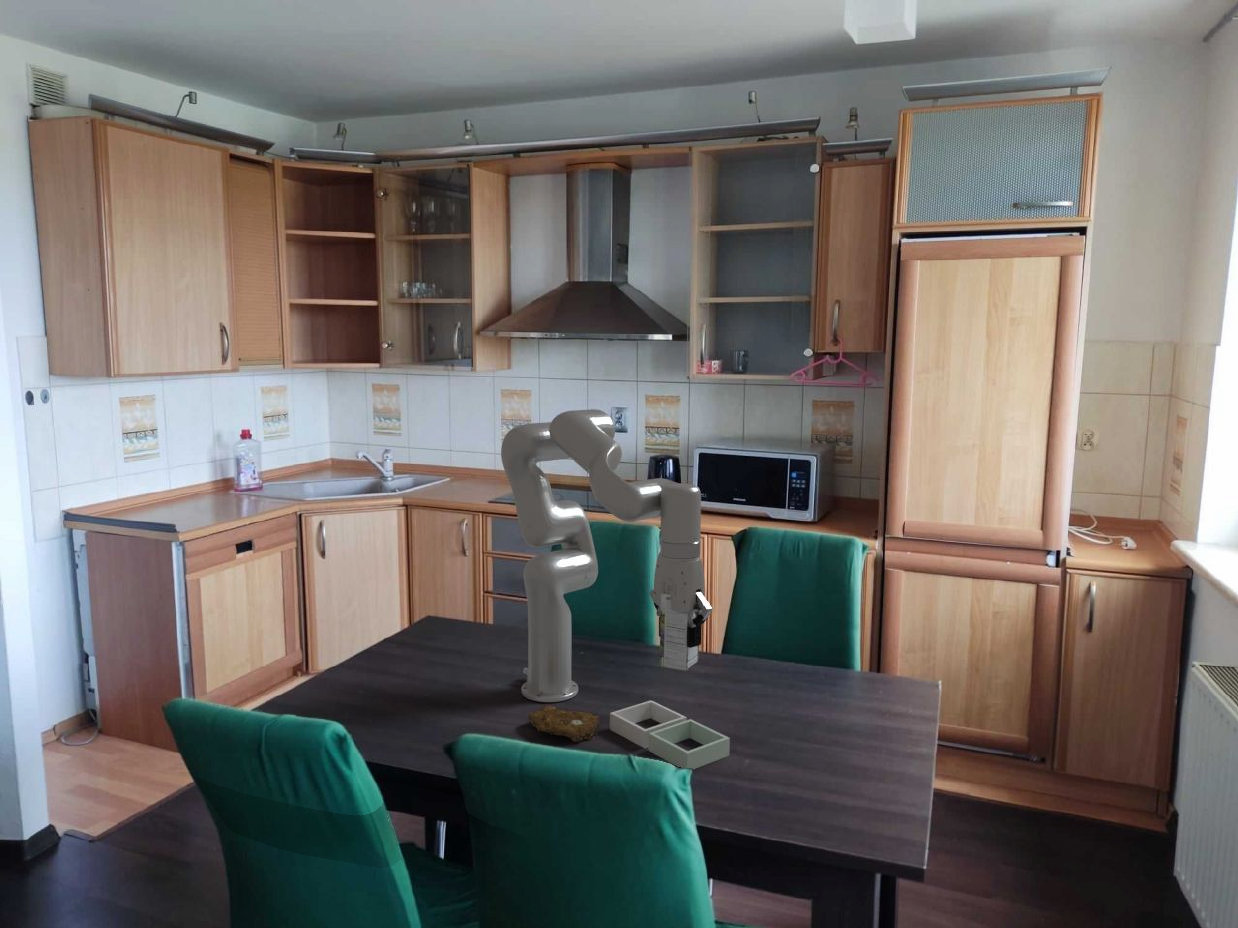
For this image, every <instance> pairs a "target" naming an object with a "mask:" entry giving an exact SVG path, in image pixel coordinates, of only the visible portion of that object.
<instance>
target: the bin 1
mask: <svg viewBox="0 0 1238 928" xmlns="http://www.w3.org/2000/svg"><path fill="white" fill-rule="evenodd" d="M649 719H651V720H653V721H655V722H658V723H659V724H657V725H654V726H651V727H648V728H644V727H642V726H640V725H639V724H637V723H640V722H643V721H646V720H649ZM686 720H688V718H687V716H685V715H684V714H683V715H682V714H681V713H679V712H677V711H674V710H673V709H670V708H668V707H666V706H664V705H662V704H660V703H658V702H656V701H653V700H652V699H651V700H647V701H644V702H642V703H638V704H634V705H632V706H628V707H624V708H622V709H619V710H616V711H612V712H610V713H609V730H610V731H611V732H613V733H615V734H618V735H619V736H621V737H623V738H625V739H627V740H628V741H629V742H632V743H634V744H635V745H637V746H640V747H641V748H643V749H647V748H649V733H651V732H654V731H657V730H660V729H663V728H666V727H669V726H672V725H675V724H678V723H681V722H684V721H686Z"/></svg>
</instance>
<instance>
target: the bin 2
mask: <svg viewBox="0 0 1238 928" xmlns="http://www.w3.org/2000/svg"><path fill="white" fill-rule="evenodd" d="M689 739H692V740H693V741H695V742H698V743H699V744H701V746H698V747H696V748H693V749H690V750H686V749H684V748H682V747H680V746H678V743H680V742H682V741H683V742H684V741H686V740H689ZM730 744H731V738H730V737H728V736H727V735H725V734H723V733H720V732H718V731H716V730H714V729H712V728H710V727H708V726H706V725H703V724H702V723H699V722H697V721H695V720H693V719H692V718H690V719H687V720H686V721H684V722H681V723H678V724H675V725H672V726H669V727H666V728H663V729H660V730H657V731H654V732H651V733H649V747H648V752H650V753H652V754H653V755H655V756H658V757H659V758H661V759H663V760H665V761H666V762H668V763H670V764H672V765H674V766H676V767H678V768H679V767H681V768H692V769H693V770H696V769H698V768H701V767H703V766H706V765H708V764H712V763H714V762H716V761H719V760H721V759H725V758H727V757H729V756H730V748H731V745H730ZM681 768H680V769H681Z"/></svg>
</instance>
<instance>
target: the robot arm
mask: <svg viewBox="0 0 1238 928" xmlns="http://www.w3.org/2000/svg"><path fill="white" fill-rule="evenodd" d="M615 427H616V426H615V423H614V421H613V419H612V418H611V417H610V416H609V414H608V413H607V412H605V411H603V410H601V409H598V408H597V409H595V408H594V409H592V408H591V409H579V410H578V409H577V410H576V409H575V410H574V409H573V410H567V411H563V412H561V413H559V414H557V415H556V416H555V417H554V418H553V419H552V421H551V422H550V421H549V422H533V423H525V424H520V425H517V426H515V427H513V428H511V429H509V431H508V432H506V434H505V436H504V437H503V440H502V443H501V447H500V448H501V449H500V458H501V463H502V464H501V465H502V466H503V469H504V473H505V475H506V477H507V479H508V483H509V484H510V487H511V492H512V496H513V500H514V501H513V502H514V505H515V510H516V515H517V520H518V524H519V529H520V532H521V536H522V538H523V541H524V543H525V544H526V545H527V546H528V547H531V548H545V547H550V546H555V545H561V549H560V550H559V549H558V550H553V551H548V552H544V553H540V554H538V555H537V554H536V555H535V556H533V557H531V558H529V560H528V561H527V563H526V564H525V566H524V568H523V573H522V574H523V575H522V576H523V582H524V589H525V593H526V601H527V625H528V630H527V631H528V632H527V633H528V637H527V638H528V641H527V643H528V644H527V646H528V648H527V649H528V653H527V655H528V656H527V657H528V658H527V659H528V662H527V663H528V666H527V667H524V668H523V670H522V672H523V674H525V675H527V678H526V682H524V683H523V684H522V686H521V687H520V688H521V694H522V696H523V697H525V698H526V699H528V700H531V701H533V702H534V701H535V702H539V703H558V702H563V701H568V700H569V699H572V698H574V697H575V696H576V695H577V694H578V693H579V685H578V683H576V682H575V681H574V680H572V612H571V609H570V607H569V605H568V603H567V602H566V600H565V598H564V595H565V594H569V593H572V592H576V591H580V590H583V589H586V588H587V589H588V588H589V587H592V585H594V583H595V582H596V580H597V579H598V578H597V577H598V574H599V564H598V563H599V562H598V558H597V553H596V549H595V544H594V540H593V536H592V530H591V527H590V522H589V518H588V515H587V513H586V512H585V510H584V508H583V507H582V506H581V505H580V504H579V503H578V502H576V501H574V500H568V499H564V500H558V501H556V500H555V499H554V496H553V495H554V494H553V491H552V487H551V483H550V480H549V479H548V477H547V475H546V474H545V472H544V471H543V470H542V469H541V468H540V467H539V466H537V464H538V463H540V462H551V461H559V460H567V459H571V460H573V462H575V463H576V464H577V465H579V466H580V467H581V468H582V469H583V470H584V471H585V472H586V473H587V474H588V475H589V476H588V481H589V486H590V489H591V492H592V494H593V496H594V498H595V500H596V502H598V503H599V505H601V506H602V507H603V508H604V509H605V510H606V511H607V512H609V513H610V514H611V515H613V516H614V517H615V518H617V519H619V520H620V521H623V522H627V523H634V522H640V521H644V520H649V519H650V520H651V519H658V518H660V541H659V546H660V552H659V554H658V555H657V559H656V563H655V568H654V577H653V588H652V589H651V590H650V592H649V595H650V597H651V600H652V602H653V606H654V608H655V610H656V616H658V637H659V638H660V619H661V594H662V593H669V594H671V596H670V598H671V599H670V601H671V610H673V611H675V612H678V613H682V614H687V613H688V622H689V625H690V626H688V627H687V647H689V648H692V647H695V646H701V645H702V629H703V628H702V627H703V626H704V625H705V622H706V621H707V620H708V619H709V617H710V615H711V613H713V608H712V606H711V605H710V603H709V602H708V600H707V599H706V584H705V572H704V565H703V560H702V558H701V532H702V531H701V525H702V523H701V520H702V518H701V517H702V515H701V514H702V494H701V490H700V487H698V486H697V485H696V484H692V483H679V482H675V481H672V480H671V479H668V478H661V477H660V478H659V477H658V478H650V479H643V480H634V481H630V482H628V481H627V480H625V479H623V478H622V477H621V476H620V475H619V474H617V473H616V472H615V471H616V469H617V468H618V466H619V465H620V463H621V459H622V456H623V451H622V447H621V446H620V443H618V442H617V441H616V440H614V438H615V434H616V428H615ZM693 607H694V609H693ZM692 613H695V615H696V618H695V619H694V617H693V614H692Z"/></svg>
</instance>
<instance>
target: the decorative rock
mask: <svg viewBox="0 0 1238 928" xmlns="http://www.w3.org/2000/svg"><path fill="white" fill-rule="evenodd" d="M600 717H601V716H600V715H593V714H592V713H591V712H582V711H577V710H568V709H563V710H562V709H559V708H557V707H555V706H551V705H546V706H543V707H541V708H540V709H539V710H533V711H530V713H529V714H528V717H527V719H528V720H529V721H530V723H531V725H532V727H534V728H536V729H537V731H538V732H544V733H546V734H550V735H552V736H564V737H566V738H568V739H569V740H572V741H573V742H574V743H575V742H577V741H580V742H582V741H583V740H584V739H586V738H587V739H586V740H589V739H593V738H594V739H595V736H597V733H598V732H597V731H598V728H599V727H600V725H601V724H600ZM594 739H593V740H594ZM584 741H585V740H584ZM577 743H578V742H577Z"/></svg>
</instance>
